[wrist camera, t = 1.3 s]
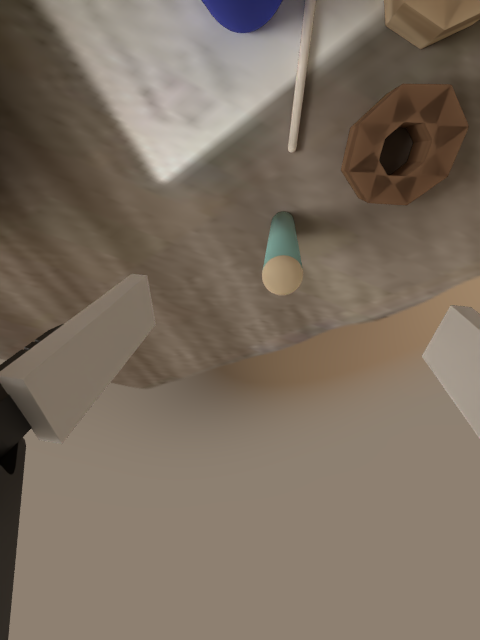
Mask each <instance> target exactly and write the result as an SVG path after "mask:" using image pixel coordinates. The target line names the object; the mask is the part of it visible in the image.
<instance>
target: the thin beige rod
mask: <svg viewBox="0 0 480 640" xmlns="http://www.w3.org/2000/svg"><path fill="white" fill-rule="evenodd" d="M315 4H316V0H305V7H304V15H303V24H302V33H301V41H300V50H299V58H298V67H297V75H296V84H295V92H294V101H293V109H292V118H291V126H290V135H289V143H288V150H289V152H291V153H293V152H295V150H296V148H297V140H298V133H299V125H300V118H301V110H302V102H303V95H304V87H305V80H306V72H307V65H308V57H309V50H310V42H311V35H312V27H313V19H314V12H315Z"/></svg>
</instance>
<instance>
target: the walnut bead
mask: <svg viewBox="0 0 480 640" xmlns="http://www.w3.org/2000/svg"><path fill="white" fill-rule="evenodd" d="M398 127H401V128H406V129H407V131H408V133H409V135H410V137H411V139H412V141H413V146H412V149H411V152H410V154H409V157H408V160H407V162H406V163H405V164H404V165H402V166H401V167H400V168H399V169H397V170H396V171H395V172H394V173H392V174H386V172H385V170H384V169H383V167H382V165H381V163H380V162H379V158H380V154H381V151H382V147H383V144H384V140H385V138H386V137H387V136H389V135H390V134H391V133H392V132H393V131H394V130H396V129H397V128H398ZM468 128H469V125H468V123H467V121H466V118H465V116H464V114H463V111H462V109H461V106H460V104H459V102H458V99H457V97H456V95H455V92H454V90H453V88H452V85H449V84H402V85H400V86H399V87H397V88H395V89H394V90H392V91H391V92H389V93H388V94H386V95H385V96H384V97H383V98H382V99H381V100H380V101H379V102H378V103H376V104H375V105H374V106H373V107H372V108H371V109H370V110H369V111H368V112H367V113H366V114H365V115H364V116H363V117H361V118H360V119H359V120H358V121H357V122H356V123H355V124H354V125H353V126H352V127H351V128H350V131H349V136H348V141H347V145H346V150H345V154H344V159H343V163H342V168H341V171H342V173H343V174H344V176H345V177H346V179H347V181H348V182H349V184H350V185H351V187H352V188H353V190H354V192H355V193H356V195H357V196H358V198H359V199H361V200H363V201H365V202H367V203H378V204H394V205H408V204H409V203H411V202H412V201H414V200H415V199H416V198H418V197H419V196H421V195H422V194H424V193H425V192H426V191H428V190H429V189H431V188H432V187H433V186H435V185H436V184H438V183H439V182H441V181H442V180H443V179H445V178H446V177H448V175H449V172H450V170H451V168H452V165H453V163H454V160H455V158H456V156H457V153H458V151H459V149H460V146H461V144H462V142H463V139H464V137H465V135H466V132H467V130H468Z"/></svg>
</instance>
